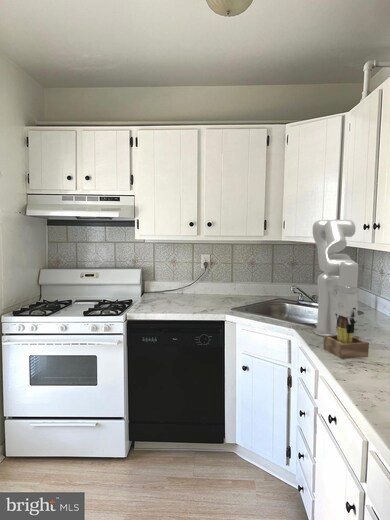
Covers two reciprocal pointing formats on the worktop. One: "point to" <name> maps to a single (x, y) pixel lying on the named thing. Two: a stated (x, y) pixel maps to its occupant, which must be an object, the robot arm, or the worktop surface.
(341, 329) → the sauce bottle
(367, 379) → the worktop surface
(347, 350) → the walnut sleeve
